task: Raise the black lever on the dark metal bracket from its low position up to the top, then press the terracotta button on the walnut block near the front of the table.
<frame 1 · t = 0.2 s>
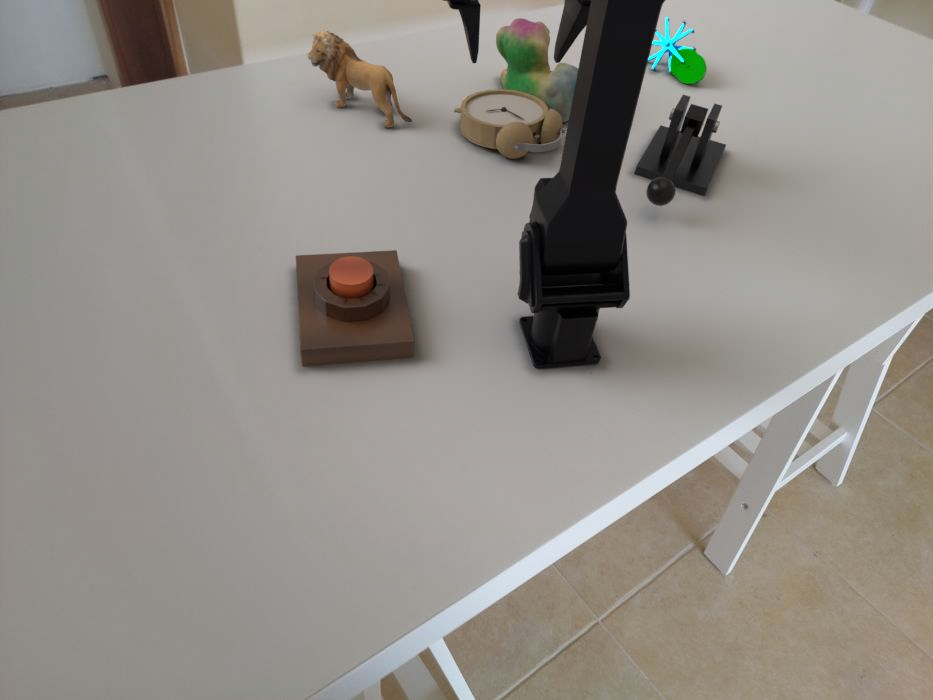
hand: (515, 61, 79), 15 cm above the table, tool pointing down, fingers open, 9 cm apart
button: (351, 277, 67), point 4 cm above the table, slide at 0.1 cm
sculpture: (535, 101, 104), on the table
bracket: (680, 163, 95), on the table
lion figurine: (358, 111, 98), on the table
lever: (678, 155, 87), point 5 cm above the table, hinge at -10.0°
stick construction toy: (675, 71, 115), on the table
alarm clock: (510, 139, 96), on the table
button block: (352, 313, 71), on the table
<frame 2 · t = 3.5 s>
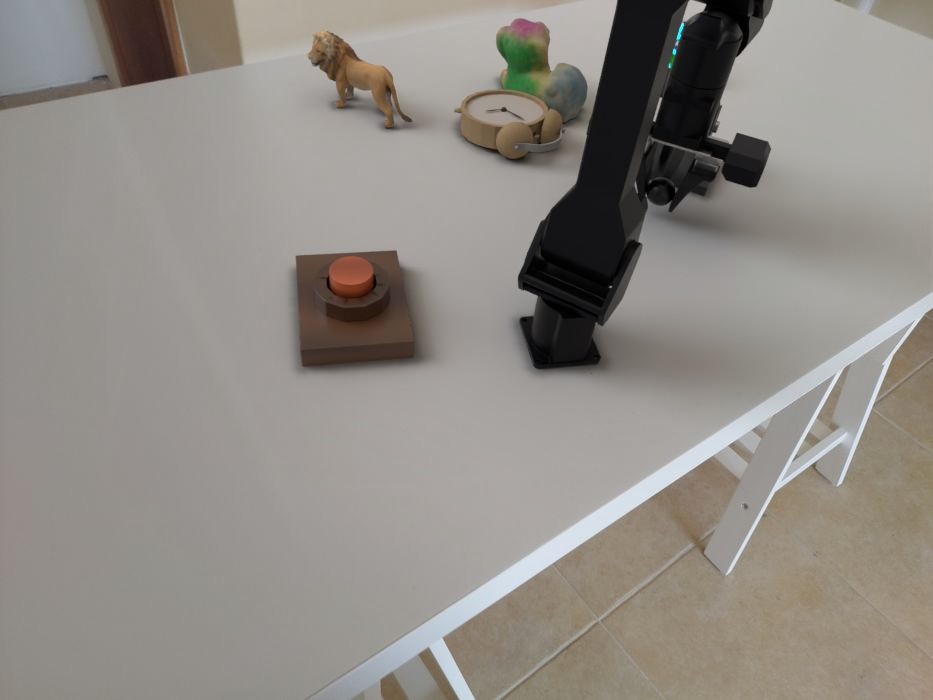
hand: (656, 205, 85), 2 cm above the table, tool pointing down, fingers closed on lever, 3 cm apart
lever: (678, 155, 87), point 5 cm above the table, hinge at -10.0°, touching gripper
everything else where it was.
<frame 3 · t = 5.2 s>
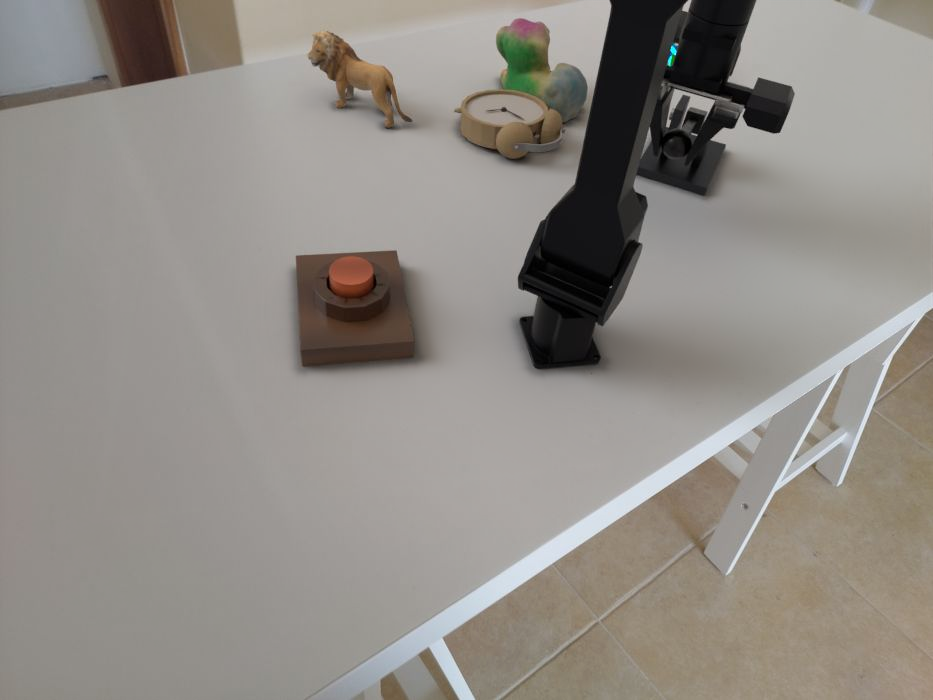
hand: (671, 159, 81), 8 cm above the table, tool pointing down, fingers closed on lever, 3 cm apart
lever: (685, 131, 85), point 8 cm above the table, hinge at 14.6°, touching gripper
everything else where it was.
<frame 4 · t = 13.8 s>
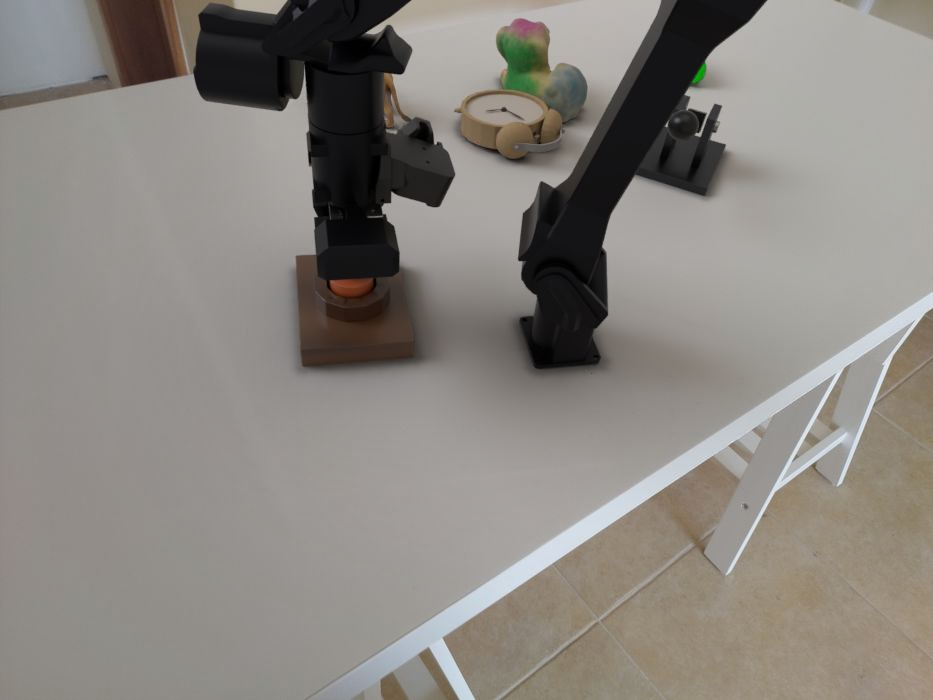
hand: (351, 273, 67), 5 cm above the table, tool pointing down, fingers closed, pressing on button
button: (351, 280, 68), point 4 cm above the table, slide at -0.3 cm, touching gripper
lever: (688, 122, 85), point 9 cm above the table, hinge at 22.6°
everything else where it was.
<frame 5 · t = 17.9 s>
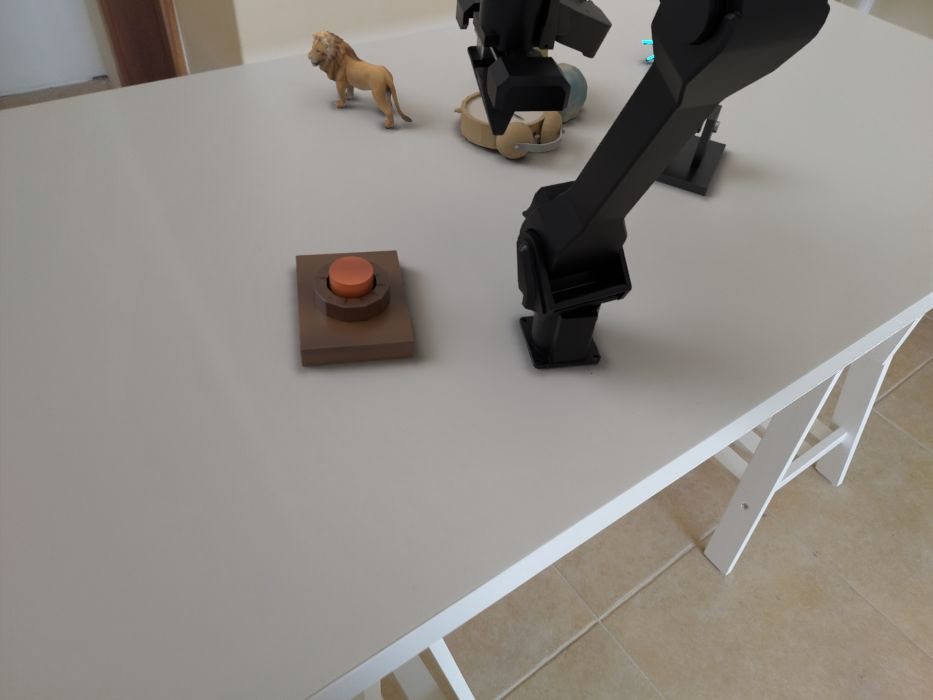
hand: (497, 133, 71), 13 cm above the table, tool pointing down, fingers closed
button: (351, 277, 67), point 4 cm above the table, slide at 0.1 cm
everything else where it was.
at the end: lever at +23° (first picture: -10°); button pushed in 1.1 cm at the most during the clip, back to where it started at the end; button slide at 0.1 cm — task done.
